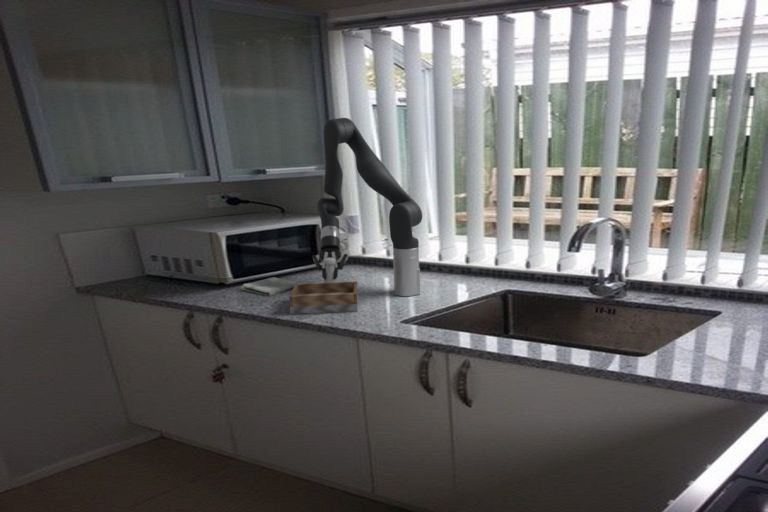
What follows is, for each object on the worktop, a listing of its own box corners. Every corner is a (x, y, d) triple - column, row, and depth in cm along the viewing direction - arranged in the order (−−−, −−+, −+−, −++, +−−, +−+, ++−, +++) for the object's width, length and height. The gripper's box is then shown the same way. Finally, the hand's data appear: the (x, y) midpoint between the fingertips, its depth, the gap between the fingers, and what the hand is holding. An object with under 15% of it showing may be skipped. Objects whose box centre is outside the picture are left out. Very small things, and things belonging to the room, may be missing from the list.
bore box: (357, 297, 188) (357, 281, 187) (357, 311, 172) (356, 293, 171) (296, 300, 187) (295, 284, 186) (290, 314, 171) (289, 296, 170)
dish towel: (304, 287, 207) (304, 279, 206) (269, 298, 193) (269, 289, 192) (273, 280, 218) (272, 273, 217) (238, 291, 204) (237, 283, 203)
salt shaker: (336, 294, 193) (334, 260, 190) (321, 293, 194) (319, 259, 191) (340, 290, 198) (339, 256, 196) (326, 289, 200) (324, 256, 197)
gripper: (311, 235, 199) (309, 274, 190) (347, 233, 200) (348, 272, 190) (313, 246, 205) (312, 284, 196) (348, 245, 206) (349, 282, 196)
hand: (330, 278), depth 193 cm, fingers closed on salt shaker, 3 cm apart
